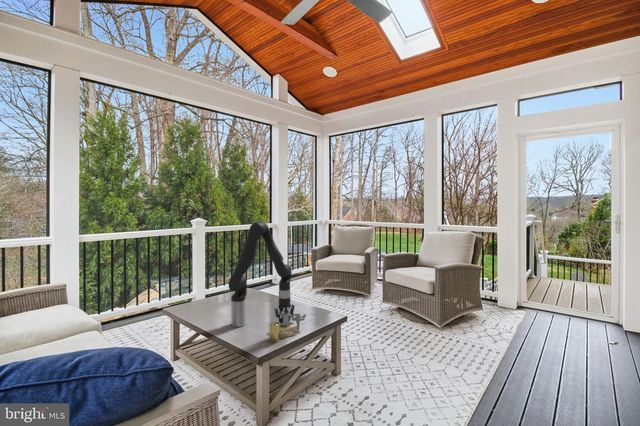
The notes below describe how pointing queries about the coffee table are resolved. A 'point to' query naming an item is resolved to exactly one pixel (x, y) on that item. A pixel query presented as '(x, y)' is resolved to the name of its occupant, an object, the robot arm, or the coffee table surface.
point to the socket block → (288, 330)
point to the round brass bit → (274, 332)
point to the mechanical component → (298, 319)
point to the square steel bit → (285, 319)
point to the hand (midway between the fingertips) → (284, 322)
